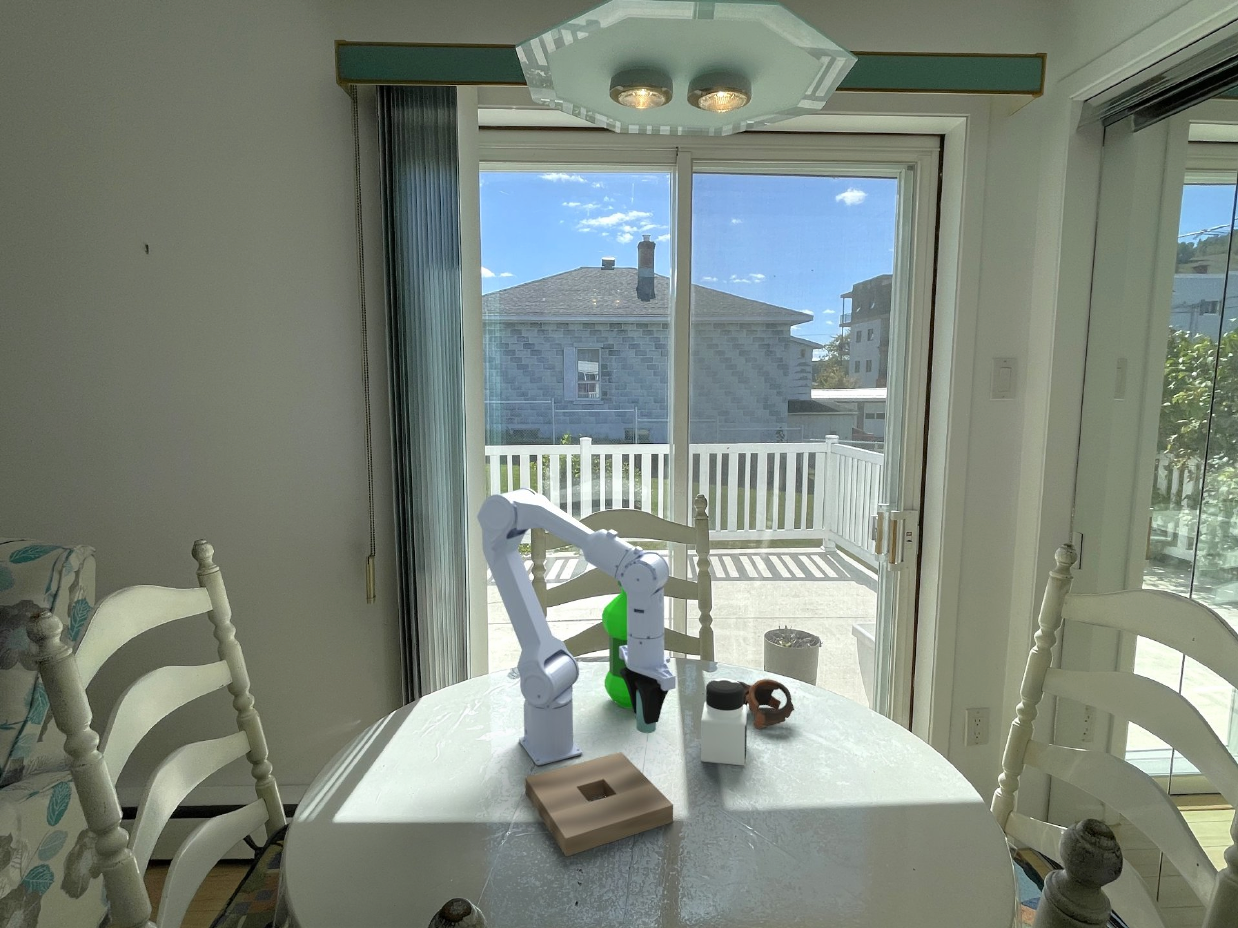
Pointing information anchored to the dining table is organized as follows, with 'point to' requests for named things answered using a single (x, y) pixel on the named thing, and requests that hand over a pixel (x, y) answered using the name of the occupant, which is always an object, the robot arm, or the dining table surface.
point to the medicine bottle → (724, 723)
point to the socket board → (597, 802)
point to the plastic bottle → (616, 648)
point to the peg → (640, 720)
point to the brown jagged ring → (766, 702)
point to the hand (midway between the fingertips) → (645, 717)
